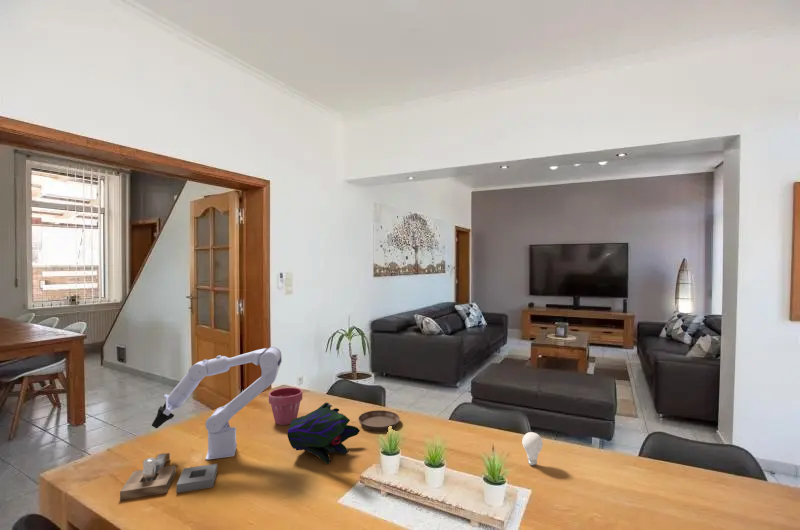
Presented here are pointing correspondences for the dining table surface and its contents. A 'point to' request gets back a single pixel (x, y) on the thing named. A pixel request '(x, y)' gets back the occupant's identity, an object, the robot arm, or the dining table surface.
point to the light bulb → (532, 446)
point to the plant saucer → (378, 420)
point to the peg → (149, 469)
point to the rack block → (197, 478)
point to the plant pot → (285, 404)
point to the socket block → (147, 483)
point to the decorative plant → (321, 432)
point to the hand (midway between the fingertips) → (157, 421)
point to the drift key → (161, 460)
